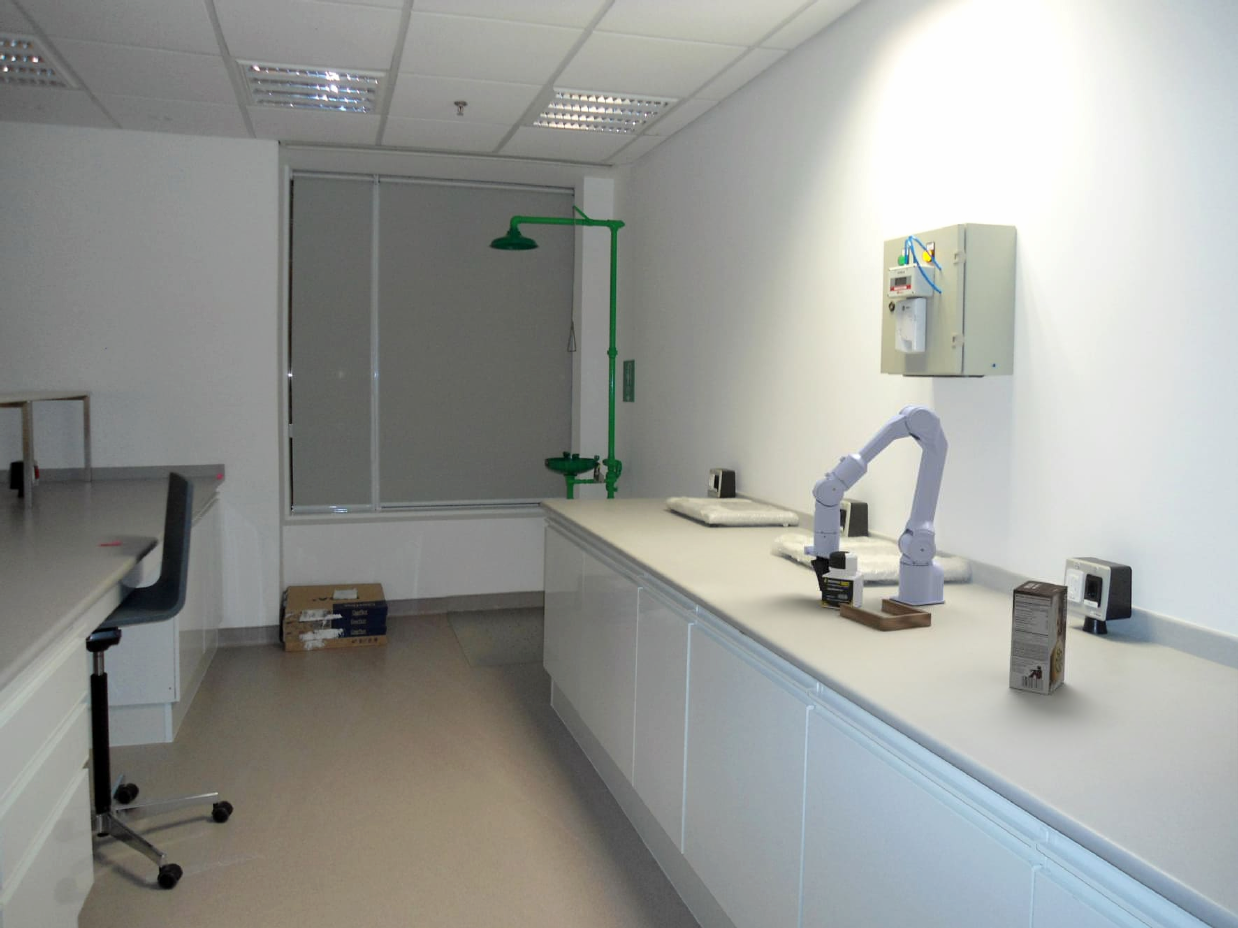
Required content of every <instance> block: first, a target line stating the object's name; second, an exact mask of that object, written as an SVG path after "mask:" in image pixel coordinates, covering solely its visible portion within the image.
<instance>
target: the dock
mask: <svg viewBox="0 0 1238 928" xmlns="http://www.w3.org/2000/svg"><path fill="white" fill-rule="evenodd" d="M882 610H883V611H882ZM881 611H882V612H884V611H885V613H887V614H890V613H891V616H882V615H879V614H877V613H874V612H872V611H868V610H866V609H862V608H860V607H858V608H857V607H854V606H851V605H848V604H845V603H840V609H839V616H841V617H843V618H846V619H850V620H853V621H854V622H858V623H861V624H863V625H866V626H869V627H872V628H874V629H877V630H880V631H882V632H886V631H893V630H894V631H895V630H902V629H904V630H905V629H912V628H921V627H928V626H932V612H928V611H925V610H923V609H920V608H916V607H914V606H911V605H910V606H909V605H908V604H905V603H901V602H898V601H897V602H896V601H895V600H892V599H887V598H882V599H881ZM896 615H897V616H896Z"/></svg>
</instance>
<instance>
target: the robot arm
mask: <svg viewBox="0 0 1238 928" xmlns="http://www.w3.org/2000/svg"><path fill="white" fill-rule="evenodd" d="M909 437H912V438H913V439H914V440H915V442H916V443H917V444H918V445H919V446H920V448H921V449H922V453H921V457H920V463H919V469H918V475H917V479H916V484H915V488H914V489H915V490H914V494H913V500H912V506H911V511H910V515H909V519H908V520H907V521H906V524H905V527H904V530H903V532H902V533H901V535H900V536H899V538H898V541H897V546H898V550H899V552H900V553H901V557H900V558H899V567H898V568H899V569H898V571H899V573H898V595H892V596H889V600H892V601H897V602H899V603H902V604H905V605H908V606H909V605H910V606H912V607H914V606H915V607H916V606H923V605H924V606H925V605H932V604H940V603H941V604H943V603H946V599H944V587H945V586H944V581H945V573H944V570H943V567H942V565H941V564H940V563H939V562H937V561H934V560H933V559H935V557H936V553H937V545H936V542H935V535H936V530H935V526H934V520H935V516H936V515H935V514H936V511H937V504H938V499H939V494H940V490H941V484H942V479H943V475H944V469H945V464H946V458H947V453H948V448H949V447H948V446H949V444H948V440H947V438H946V435H945V433H944V430H943V428H942V424H941V419H940V417H939V416H938V415H937V414H936V413H935V412H934V411H933V410H932V409H931V408H929V407H928V406H921V405H920V406H917V405H907V406H905V407H903V408H902V409H901V410H900V411H899V412H898V413H896V414H895V415H893V416H892V417H891V418H890V419H889V420H888V421H887V422H886V423H885V424H884V425H883V426H882V427H881V428H880V429H879V430H878V431H877V432H876V433H875V434H874V435H873V436H872V438H871V439H869V441H868V442H867V443H865V445H864V446H863V447H862V448H861V449H860V450H859V451H858V452H857V453H848V454H847V455H846V456H845V455H842V456H841V457H840V458H839V461H840V462H839V463H838V464H837V465H836V466H835V467H833V469H831V470H830V471H829V472H828V471H826V472H825V473H824V477H825V478H821V479H819V480H818V481H817V482H816V483H815V485H814V486H813V487H814V488H813V489H812V496H813V498H814V499H815V504H814V508H815V510H814V513H813V516H814V517H813V546H812V545H806V546H803V547H804V548H803V555H804V556H811V557H815V559H811V560H810V564H811V566H812V567H813V570H814V573H815V576H816V578H817V583H818V588H819V591H820V592H822V576H823V575H824V574H826V573H828V572H830V570H829V555H830V554H831V553H833V552H835V551H840V529H841V512H840V509H841V508H840V507H841V502H842V501H843V499H844V496H845V492H848V491H849V490H850V489H851V488H852V487H853V486H854V485H855V484H856V483H857V482H859V480H861V479H862V478H863V477H864V476H865V474H867V473H868V465H869V463H870V462H871V461H873V460H874V459H875V458H876V457H877V456H878V455H879V454H880V453H881V452H883V451H884V450H885V449H886V448H887V447H888V446H889V445H891V443H892V442H894V441H895V440H899V439H904V438H909Z"/></svg>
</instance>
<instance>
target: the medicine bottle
mask: <svg viewBox="0 0 1238 928" xmlns="http://www.w3.org/2000/svg"><path fill="white" fill-rule="evenodd" d="M858 559H859V557H858V555H857V554H856V553H854V552H852V551H845V550H839V551H835V552H833V553H831V554H830V555H829V570H830V572H828V573H826V574H824V575H823V576H822V591H821V604H820V605H821V607H823V608H828V609H836V610H840V603H845V604H848V605H851V606H854V607H857V608H860V607H861V606H862V605H863V603H864V602H863V600H864V598H863V597H864V573H862V572H858Z"/></svg>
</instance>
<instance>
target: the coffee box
mask: <svg viewBox="0 0 1238 928" xmlns="http://www.w3.org/2000/svg"><path fill="white" fill-rule="evenodd" d="M1068 588H1069V586H1068V585H1062V584H1055V583H1051V582H1045V581H1037V580H1027V581H1025V582H1023V583H1022V584H1020V585H1018V586H1017V587H1015V588H1013V590H1012V608H1011V609H1012V614H1011V632H1010V633H1011V635H1010V636H1011V637H1010V638H1011V639H1010V657H1009V683H1008V686H1009V688H1013V689H1018V690H1021V691H1027V692H1033V693H1037V694H1042V695H1047V696H1048V695H1051V694H1052V693H1053V692H1054V691H1055V690H1056V689H1057V688H1058V687H1059V686H1061V684H1063V682H1065V671H1066V670H1065V669H1066V666H1065V664H1066V642H1067V621H1068V620H1067V618H1068V617H1067V615H1068Z"/></svg>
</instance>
